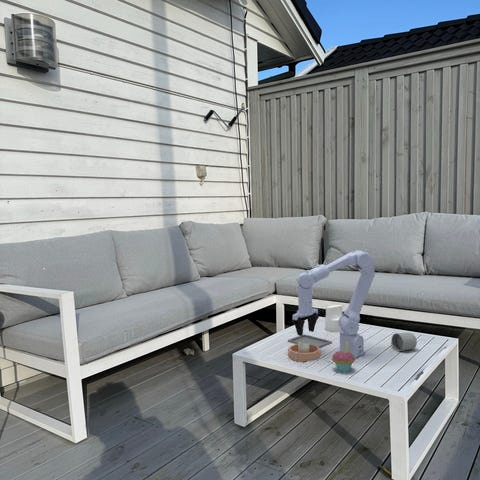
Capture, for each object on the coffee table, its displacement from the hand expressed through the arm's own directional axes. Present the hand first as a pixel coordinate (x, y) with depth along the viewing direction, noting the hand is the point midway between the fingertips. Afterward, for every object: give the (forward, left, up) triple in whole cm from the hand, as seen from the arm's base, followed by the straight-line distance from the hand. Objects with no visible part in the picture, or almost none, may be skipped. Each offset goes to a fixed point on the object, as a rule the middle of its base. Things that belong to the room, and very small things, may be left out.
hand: (305, 333), depth 189 cm
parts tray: (+8, -13, -9) cm, 18 cm away
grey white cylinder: (+13, -39, -10) cm, 42 cm away
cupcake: (-21, +3, -10) cm, 23 cm away
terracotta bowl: (-1, +2, -9) cm, 10 cm away
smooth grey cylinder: (-1, +2, -9) cm, 9 cm away
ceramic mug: (-25, -35, -10) cm, 44 cm away
